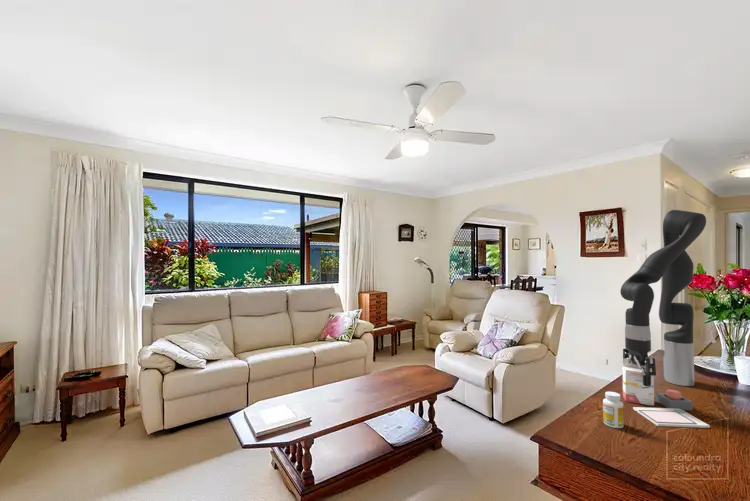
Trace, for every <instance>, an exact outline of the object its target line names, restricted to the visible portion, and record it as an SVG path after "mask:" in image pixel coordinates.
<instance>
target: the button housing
mask: <svg viewBox="0 0 750 501" xmlns="http://www.w3.org/2000/svg"><path fill="white" fill-rule="evenodd" d="M655 393H656V394H655V397H656V398H655V400H656V402H657V403H658V404H660V405H662V406H663V407H664V408H678V409H681V410H683V411H693V410H694V409H693V407H694V405H693V400H690V399H688V398H686V397H684V396H682V395H681V400H671V399H670V398H668V397H666V392H665V393H664V392H655Z"/></svg>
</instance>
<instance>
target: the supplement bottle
mask: <svg viewBox="0 0 750 501" xmlns="http://www.w3.org/2000/svg"><path fill="white" fill-rule="evenodd" d="M604 397H605V398H603V400H602V416H603V419H602V420H603V424H605V425H606V426H608V427H610V428H615V429H622V428H624V427H625V426H624V425H625V421H624V420H625V417H624V416H625V414H624V412H625V411H624V403H623V402H622V401H621V394H620V393H618V392H615V391H605V393H604Z"/></svg>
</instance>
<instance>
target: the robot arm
mask: <svg viewBox="0 0 750 501" xmlns="http://www.w3.org/2000/svg"><path fill="white" fill-rule="evenodd" d="M662 222H663V223H662V237H663V247H662V248H659V249H658V250H656V251H654V252H652V253H651V254H649V255H648V257H647V258H646V259H645V261H643V263H642V264H641V266H640V267H639V269H638V270H637V271H636V272H635V273H633V274H632V275H631V276H629V277H628V278H627V279H626V280H625V281H624V282H623V284H622V285H621V288H620V290H619V291H620V296H621V297H622V298H623V299H624V300H625V301H630V302H633V304H632V307H629V308H626V310H625V316H624V317H625V318H624V319H625V326H624V327H625V328H624V341H625V342H624V343H625V348H623V349H622V360H623V359H628V360H629V361H628V364H629V363H631V361H632V364H636V365H637V366H638V367H639V369H641V371H642V373H643V385H644V386H651V376H654V377H655V376H656V375H657V372H656V371H657V368H656V359H655V358H654V357H649V353H650V352H651V351H652V338H651V337H652V336H651V335H652V334H651V328H650V326H651V325H650V313H651V311H652V307H653V304H654V299H655V293H654V290H653V288H652V287H651V286H650V284H654V283H655V284H656V283H658V282H659V281H660V280H661V282H662V283H661V294H660V301H659V308H658V318H659V321H660V322H661V323H662V324H665V325H675V326H681V327H679V328H678V329H676V330H675V329H674V330H671V331H667V332H664V334H663V344H664V345H663V347H664V349H663V350H664V355H663V357H662V359H663V363H662V364H663V365H662V366H663V379H664V380H665V381H666V382H668V383H670V384H673V385H677V386H683V387H684V386H685V387H694V386H695V362H694V361H695V354H694V319H695V318H694V317H695V316H694V315H695V314H694V312H695V311H694V309H693V306H692V305H691V303H687V302H673V300H674V298H676V296H677V295H678V294H680V292H682V291H683V290H685V288H687V287H688V286H689V285H690V284H691V282H692V281H693V275H694V262H693V259H691V257H690V255H689V253H688V252H687V251H686V250H687V249H688V247H689V246H690V245H691V244H693V242H695V241H696V239H697V238H698V237H699V236H700V235H701V234H702V232H703V231H704V230H705V228H706V226H707V225H706V224H707V218H706V215H705V214H703V213H700V212H694V211H687V210H682V209H681V210H680V209H671V210H669V211H667V213H666V214H665V216H664V218H663V221H662ZM645 365H646V366H645ZM645 369H646V372H645ZM651 371H652V372H651Z"/></svg>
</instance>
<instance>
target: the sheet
mask: <svg viewBox="0 0 750 501" xmlns="http://www.w3.org/2000/svg"><path fill="white" fill-rule="evenodd" d="M632 409H633V410H634V411H635V412H636V411H637V412H636V413H638V414H639V415H641V416H643V417H644V418H646V419H647V420H648V421H649V422H651V423H653V424H654V425H655V426H657V427H675V428H676V427H677V428H678V427H679V428H698V429H699V428H702V429H703V428H704V429H710V428H711V426H710V424H708V423H706V422H704V421H702V420H701V419H699V418H698V417H695V416H693V415H692V414H690V413H688V412H686V410H681V409H678V408H667V407H643V406H642V407H638V406H637V407H635V406H633V407H632Z"/></svg>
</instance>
